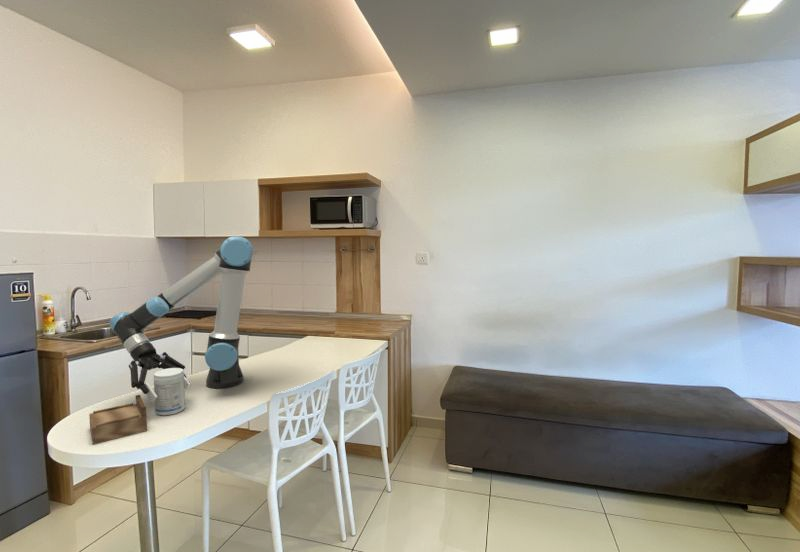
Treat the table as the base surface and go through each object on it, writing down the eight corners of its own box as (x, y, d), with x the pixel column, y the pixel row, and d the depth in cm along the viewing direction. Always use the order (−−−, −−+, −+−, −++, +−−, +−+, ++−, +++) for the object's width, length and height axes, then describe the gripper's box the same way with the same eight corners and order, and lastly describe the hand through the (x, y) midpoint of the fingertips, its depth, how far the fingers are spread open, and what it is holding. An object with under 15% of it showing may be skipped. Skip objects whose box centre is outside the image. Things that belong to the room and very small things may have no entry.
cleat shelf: (140, 416, 139) (139, 394, 138) (147, 430, 128) (146, 406, 128) (90, 428, 130) (88, 404, 129) (92, 444, 119) (91, 418, 119)
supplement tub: (163, 405, 148) (161, 367, 147) (189, 405, 149) (188, 367, 148) (149, 417, 139) (148, 376, 138) (178, 416, 140) (176, 375, 139)
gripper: (165, 347, 160) (194, 387, 156) (100, 363, 136) (133, 412, 132) (174, 335, 157) (204, 376, 153) (110, 349, 134) (144, 398, 130)
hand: (172, 392), depth 143 cm, fingers open, 13 cm apart
